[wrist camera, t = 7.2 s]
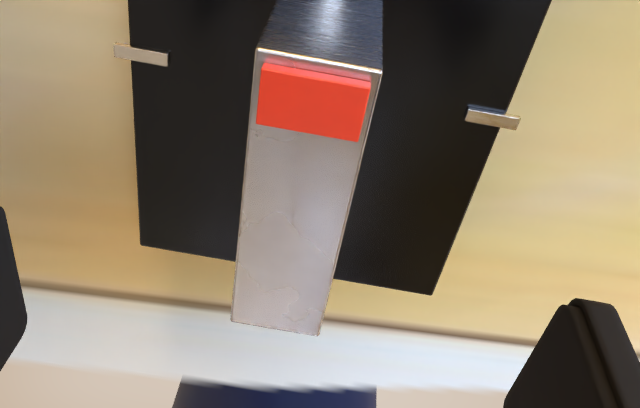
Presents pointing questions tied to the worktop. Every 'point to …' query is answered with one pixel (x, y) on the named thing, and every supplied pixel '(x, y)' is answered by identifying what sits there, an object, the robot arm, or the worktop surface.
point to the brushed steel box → (303, 156)
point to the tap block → (382, 141)
